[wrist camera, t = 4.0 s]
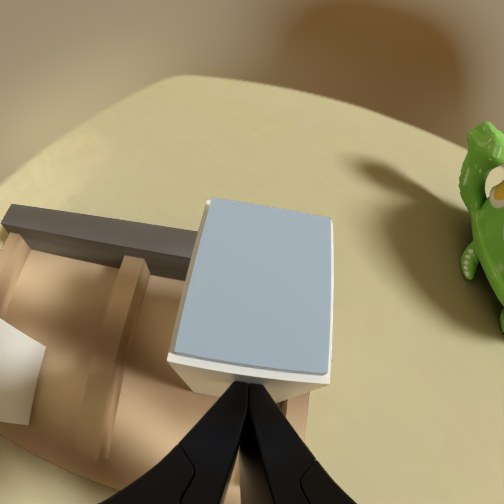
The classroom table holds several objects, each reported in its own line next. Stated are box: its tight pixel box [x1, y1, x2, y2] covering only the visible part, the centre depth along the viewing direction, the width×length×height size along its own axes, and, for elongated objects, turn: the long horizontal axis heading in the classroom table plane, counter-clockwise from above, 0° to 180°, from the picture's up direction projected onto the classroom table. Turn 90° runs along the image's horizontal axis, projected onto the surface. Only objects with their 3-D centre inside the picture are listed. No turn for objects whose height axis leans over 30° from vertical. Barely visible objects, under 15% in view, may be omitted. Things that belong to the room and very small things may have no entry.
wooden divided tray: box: [0, 204, 310, 504], centre depth 14 cm, size 14×20×4 cm
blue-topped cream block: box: [167, 198, 333, 403], centre depth 12 cm, size 5×4×9 cm
